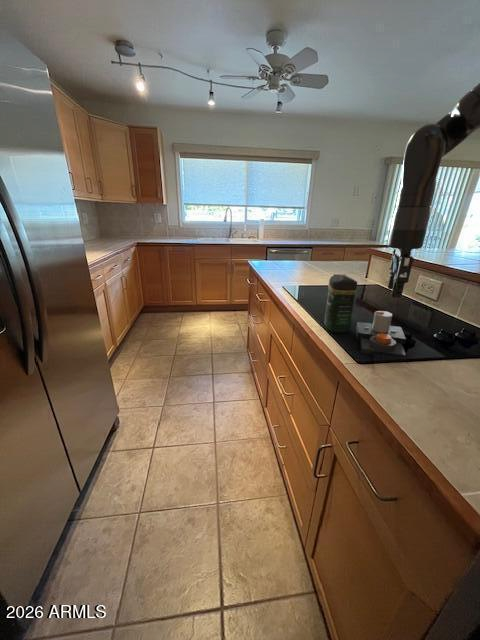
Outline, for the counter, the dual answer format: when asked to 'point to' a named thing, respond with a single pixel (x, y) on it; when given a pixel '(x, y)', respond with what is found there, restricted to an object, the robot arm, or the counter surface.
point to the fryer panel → (366, 332)
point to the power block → (381, 347)
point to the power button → (383, 338)
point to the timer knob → (381, 321)
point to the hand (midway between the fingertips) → (393, 292)
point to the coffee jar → (340, 303)
